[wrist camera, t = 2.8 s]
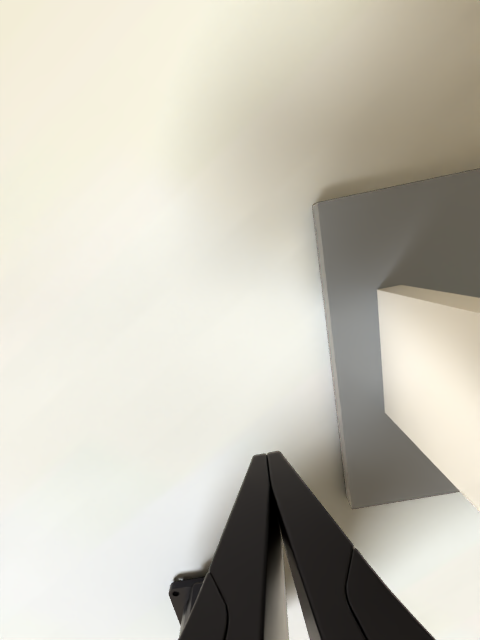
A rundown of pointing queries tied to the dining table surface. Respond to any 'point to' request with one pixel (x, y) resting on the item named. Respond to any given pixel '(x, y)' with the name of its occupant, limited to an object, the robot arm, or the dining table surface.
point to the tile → (434, 377)
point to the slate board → (363, 319)
